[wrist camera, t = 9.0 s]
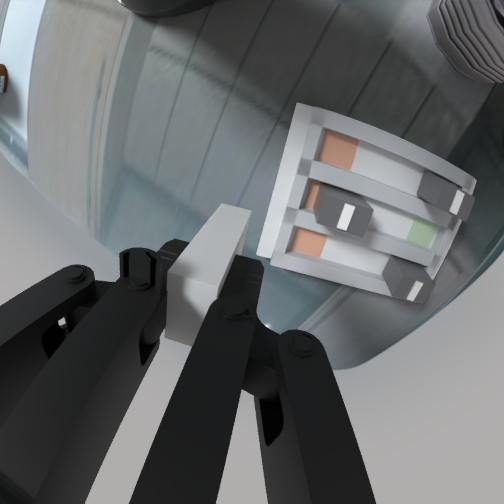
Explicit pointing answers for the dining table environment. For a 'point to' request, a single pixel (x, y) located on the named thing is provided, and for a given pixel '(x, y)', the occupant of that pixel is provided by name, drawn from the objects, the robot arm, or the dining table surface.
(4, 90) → the food container
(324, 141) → the panel
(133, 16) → the dining table surface
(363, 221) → the breaker mid
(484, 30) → the can
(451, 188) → the breaker near
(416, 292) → the breaker far
